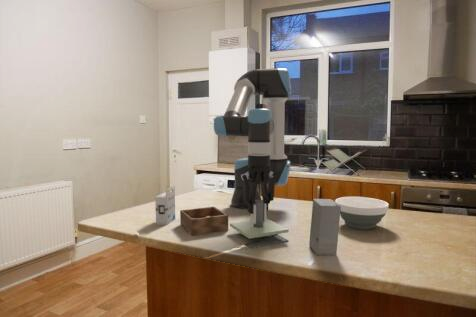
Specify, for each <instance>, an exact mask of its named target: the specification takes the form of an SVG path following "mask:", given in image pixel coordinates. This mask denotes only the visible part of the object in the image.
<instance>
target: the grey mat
mask: <svg viewBox="0 0 476 317" xmlns="http://www.w3.org/2000/svg"><path fill="white" fill-rule="evenodd" d="M282 242H283V243H286V242H289V239H287V238H285V237H284V236H281V235H280V234H275V235H269V236H265V237H261V238H259V239H257V240H253V241H250V242H247V243H246V242H245V243H244V246H245V247H246V246H247V249H249V248H250V249H255V248H259V246H261V247H266V246H271V244H272V245H276V244H281V243H282ZM265 245H266V246H265ZM254 247H255V248H254Z"/></svg>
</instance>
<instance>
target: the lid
mask: <svg viewBox="0 0 476 317" xmlns="http://www.w3.org/2000/svg"><path fill="white" fill-rule="evenodd" d="M254 204H255V205H256V224H254V223H252V222H250V220H244V221H235V222H230V223H229V227H231V228H232V229H234V230H235V231H236V232H239V233H240V234H242V235H243V236H244V237H246V238H248V239H256V238H264V237H269V236H272V235H275V234H278V235H280V234H286V233H289V231H290V230H289V228H286V227H284V226H282V224H279V223H276V222H275V221H272V220H270V219H269V218H266V222H263V205H264V201H263V199H262V200H255V201H254Z"/></svg>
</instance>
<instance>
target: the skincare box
mask: <svg viewBox="0 0 476 317" xmlns="http://www.w3.org/2000/svg"><path fill="white" fill-rule="evenodd" d="M311 207H312V210H311V220H310V231H309V232H310V233H309V242H308V245H309V247H311V249H312V250H313V252H314V253H315V254H316V255H317V256H325V255H326V256H327V255H328V256H334V255H337V254H338V253H337V250H338V239H339V228H340V219H341V215H340V210H341V206H340V205H338V204H337V202H335V200H333V199H331V198H330V199H329V198H327V199H326V198H313V199H312V206H311Z"/></svg>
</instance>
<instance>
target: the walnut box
mask: <svg viewBox="0 0 476 317" xmlns="http://www.w3.org/2000/svg"><path fill="white" fill-rule="evenodd" d="M179 212H180V214H179V216H180V218H179V219H180V226H181V227H182V228H183V229H184V230H185V231H186V232H187V233H188V234H189V235H190V236H191V237H192V236H199V235H207V234H213V233H219V232H226V231H227V232H228V231H229V214H227V213H225V212H224V211H222V210H220V209H219V208H217V207H216V206H207V207H198V208H191V209H181V210H180V211H179ZM207 216H210V217H207ZM193 218H195V219H193Z"/></svg>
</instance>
